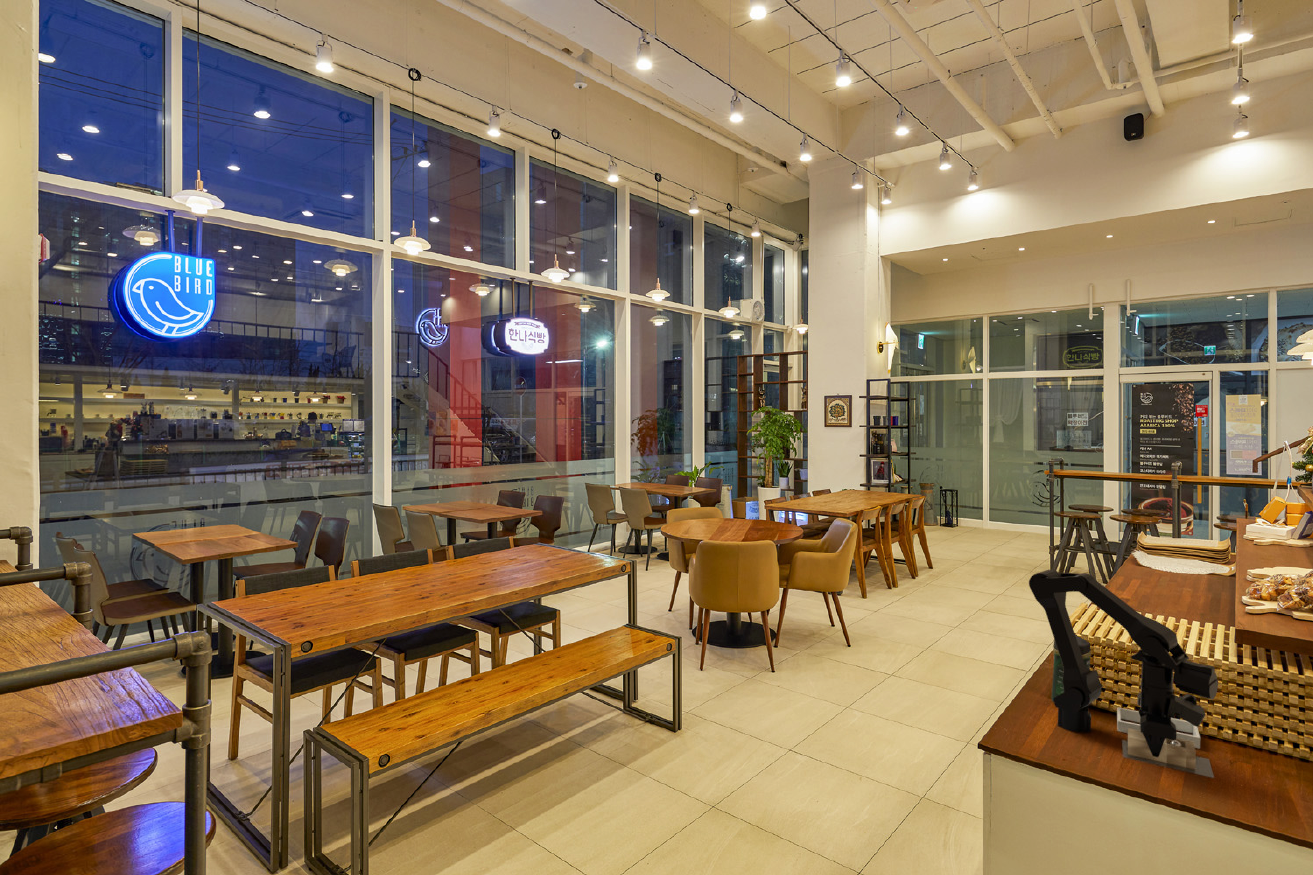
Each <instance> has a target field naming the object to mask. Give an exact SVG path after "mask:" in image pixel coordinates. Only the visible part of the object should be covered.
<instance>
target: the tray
mask: <svg viewBox="0 0 1313 875" xmlns="http://www.w3.org/2000/svg"><path fill="white" fill-rule="evenodd" d="M1116 709H1117V711H1116V727H1117V730H1116V731H1117V732H1120V733H1123V734H1124V733H1125V734H1128V728H1130V729H1135V730H1140V715H1139V710H1138V711H1137V710H1135V709H1133V710H1132V709H1129V708H1123V707H1118V706H1117V707H1116ZM1124 720H1125V721H1124ZM1129 721H1131V722H1129ZM1171 721H1172V722H1173V723H1174V724H1175V726H1176V731H1178V732H1177V733H1176V738H1178V739H1182V740H1187V741H1192V742H1194V746H1195V749H1198V750H1200V749H1201V734H1200V733H1199V728H1198V727H1196V726H1194V725H1192V724H1191V723H1190V722H1188V721H1186V720H1183V719H1180V718H1175V719H1174V718H1171ZM1138 723H1139V724H1138ZM1140 731H1141V730H1140ZM1179 731H1180V732H1179ZM1183 732H1184V733H1183Z"/></svg>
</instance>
